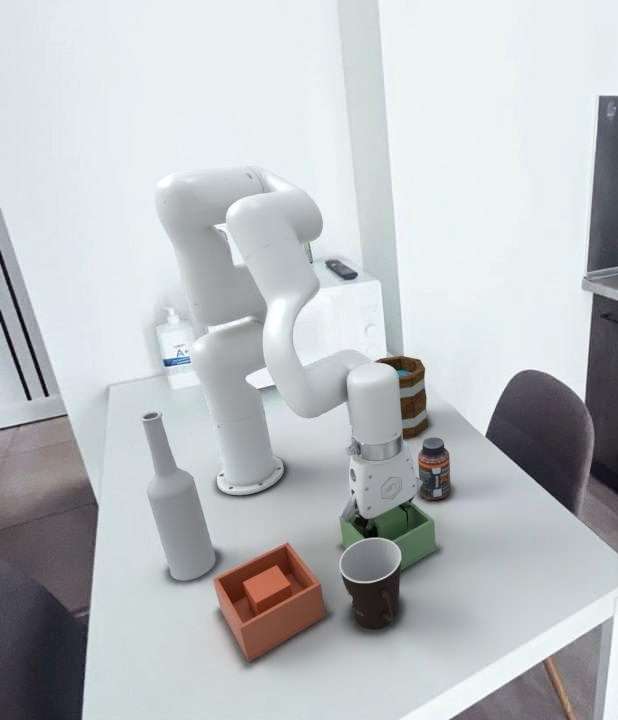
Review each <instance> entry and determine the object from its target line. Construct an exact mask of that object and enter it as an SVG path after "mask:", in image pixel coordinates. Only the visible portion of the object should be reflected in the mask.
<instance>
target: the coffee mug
mask: <svg viewBox="0 0 618 720" xmlns="http://www.w3.org/2000/svg"><path fill="white" fill-rule="evenodd" d="M338 569H339V572H340V575H341V579H342V582H343V585H344V588H345V591H346V594H347V598H348V601H349V604H350V607H351V611H352V613H353V614H352V615H353V617H354V620H355V623H356V624H357V625H358V626H359V627H361V628H363V629H366V630H371V631H372V630H374V631H375V630H380V629H383V628H385V627H387V626H389V625H391V624H392V623H393V622H394V621H395V620H396V617H397V616H398V613H399V605H400V604H399V602H400V586H401V572H402V571H401V551H400V549H399V547H398V546H397V545H396V544H395V543H394V542H392V541H390V540H388V539H384V538H368V539H364V540H360V541H358V542H356V543H354V544H352V545H351V546H349V547H348V548H347V549H346V548H345V550H344V551H343V552H342V553H341V556H340V557H339V561H338Z"/></svg>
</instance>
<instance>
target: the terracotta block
mask: <svg viewBox="0 0 618 720" xmlns="http://www.w3.org/2000/svg"><path fill="white" fill-rule="evenodd" d="M243 584H244V588H245V592H246V596H247V600H248V605H249V608H250V610H251V611H252V613H253V615H254V616H255V617H256V616H258V615H260V614H261V613H263V612H265V611H267V610H269V609H270V608H272V607H274V606H276V605H278V604H279V603H281V602H283V601H285V600H287V599H289V598H290V597H292V596H293V593H292V588H291V584H290V583H289V581H288V580H287V579H286V577H285V576H284V574H283V573H282V572H281V570H280V569H279V567H278V566H277V565H276V566H274V567H272V568H270V569H268V570H266V571H264V572H262V573H260V574H258V575H256V576H254V577H252V578H250V579H249V580H247V581H245V582H243Z"/></svg>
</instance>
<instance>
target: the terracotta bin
mask: <svg viewBox="0 0 618 720" xmlns="http://www.w3.org/2000/svg"><path fill="white" fill-rule="evenodd" d="M276 565H277V566H278V567H279V569H280V570H281V572H282V573H283V574H284V576H285V577H286V579H287V580H288V581H289V583H290V584H291V588H292V593H293V596H292V597H290V598H289V599H287V600H285V601H283V602H281V603H279V604H278V605H276V606H274V607H272V608H270V609H269V610H267V611H265V612H263V613H261V614H260V615H258V616H256V617H255V616H254V615H253V613H252V611H251V610H250V608H249V605H248V600H247V596H246V592H245V588H244V584H243V582H245V581H247V580H249V579H250V578H252V577H254V576H256V575H258V574H260V573H262V572H264V571H266V570H268V569H270V568H272V567H274V566H276ZM212 582H213V586H214V590H215V593H216V596H217V600H218V605H219V608H220V611H221V613H222V615H223V617H224V619H225V620H226V622H227V624H228V626H229V628H230V630H231V632H232V633H233V636H234V637H235V639H236V642H237V643H238V644H239V647H240V649H241V651H242V653H243V654H244V657H245V658H246V660H247V662H248V663H250V662H252V661H254V660H255V659H257V658H259V657H260V656H262V655H264V654H266V653H267V652H269V651H270V650H272V649H274V648H275V647H277V646H279V645H280V644H283V643H284V642H286V641H287V640H289V639H290V638H291V637H294V636H295V635H297V634H299V633H300V632H302V631H304V630H305V629H307V628H309V627H310V626H312V625H314V624H315V623H318V621H320V620H322V619H324V618H326V617H327V615H326V614H327V613H326V609H325V603H324V602H325V601H324V596H323V590H322V585H321V583H320V582H319V580H318V579H317V577H316V576H315V575H314V574H313V572H312V571H311V570H310V568H309V567H308V566H307V565H306V563H305V562H304V561H303V560H302V558H301V557H300V556H299V554H298V553H297V552H296V550H295V549H294V548H293V547H292V545H291V543H289V542H285V543H283V544H281V545H279V546H277V547H275V548H273V549H271V550H268V551H267V552H265V553H262V554H261V555H258V556H257V557H255V558H253V559H251V560H248V561H246V562H245V563H242V564H240V565H238V566H236V567H234V568H232V569H230V570H228V571H226V572H223V573H222V574H219V575H218V576H216V577H214V578H212Z"/></svg>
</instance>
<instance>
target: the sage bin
mask: <svg viewBox="0 0 618 720" xmlns="http://www.w3.org/2000/svg"><path fill="white" fill-rule="evenodd" d="M410 505H411V507H410V509H409V510H408V522H407V524H408V530H407V531H408V532H407V533H406V534H404V535H402V536H400V537H398V538H397V539H395V540H393V541H392V542H394V543H395V544H396V545H397V546H398V547H399V549H400V551H401V572H402V571H404V570H405V569H407V568H408V567H410V566H412V565H414V564H415V563H417V562H418V561H421V559H424V558H425V557H427V556H428V555H430V554H432V553H434V552H435V551H436V534H435V521H434V519H433V518H432V517H430V516H429V515H428V513H426V512H425V511H424V510H422V509H421V508H420V507H419V506H417V505H416V504H415V503H414V502H413V501H411V503H410ZM355 513H357V514H359V513H360V512H359V509H358V508H357V510H356V512H355ZM338 518H339V524H340V531H341V538H342V545H343V546H342V547H343V548H344V549H345V550H346V549H347V548H348V547H349V546H351V545H352V544H354V543H356V542H358V541H360V540H364V539H365V538H364V536H363V528H362V527H361V526H358V525H356V524H351V523H346V522H345V521H344V520H343V519H342V518H341V516H339V517H338Z"/></svg>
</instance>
